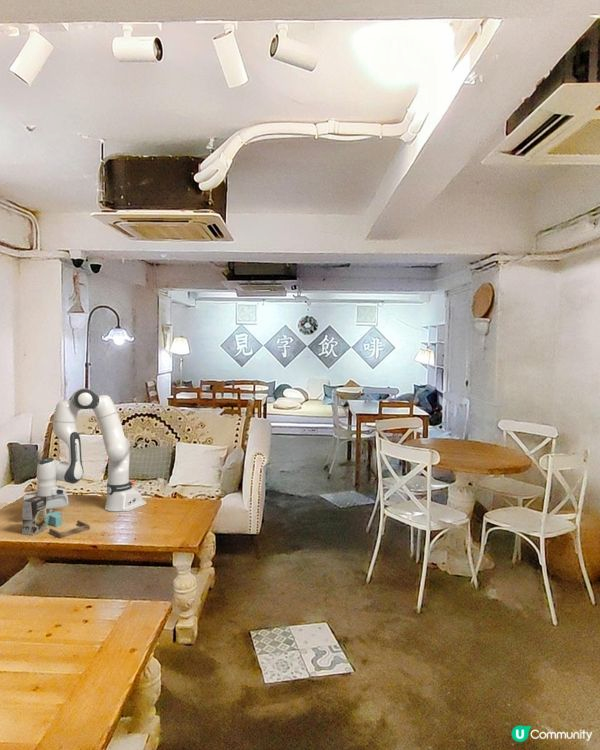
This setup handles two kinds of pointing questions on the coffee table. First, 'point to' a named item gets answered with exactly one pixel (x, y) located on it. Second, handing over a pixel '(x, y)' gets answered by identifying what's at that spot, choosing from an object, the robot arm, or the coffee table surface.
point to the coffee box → (33, 515)
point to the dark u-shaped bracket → (70, 532)
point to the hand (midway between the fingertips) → (46, 517)
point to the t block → (54, 518)
